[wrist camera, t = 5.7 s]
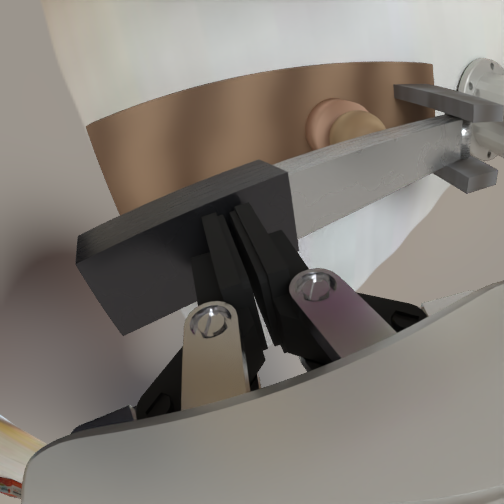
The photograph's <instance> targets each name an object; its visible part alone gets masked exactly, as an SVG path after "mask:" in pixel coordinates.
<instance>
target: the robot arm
mask: <svg viewBox="0 0 504 504" xmlns="http://www.w3.org/2000/svg"><path fill="white" fill-rule="evenodd" d="M458 91H459V92H462V93H466V94H469V95H473V96H476V97H480V98H483V99H486V100H489V101H492V102H495V103H498V104H501V105H503V121H501V122H481V123H472V130H471V147H470V154H471V155H472V156H474V157H476V158H477V159H479V160H483V161H488V160H491V159H493V158H495V157H496V156H497V155H499V156H501V157H503V158H504V69H503V68H502V67H501V66H500V65H499V64H498V63H497V62H495V61H493V60H490V59H486V58H479V59H476V60H474V61H473V62H472V63H470V64H469V66H468V67H467V68H466V70H465V71H464V74H463V76H462V78H461V81H460V84H459V88H458ZM229 214H230V218H231V222H232V226H233V229H234V233H235V237H236V241H237V244H238V248H239V252H240V255H241V258H240V256H239V253H238V251H237V248H236V246H235V243H234V241H233V238H232V236H231V233H230V231H229V228H228V226H227V223H226V221H225V218H224V216H223V214H222V215H219V216H217V214H216V212H215V213H212V214H209V215H205V216H202V217H201V218H202V222H203V226H204V230H205V234H206V238H207V242H208V246H209V250H210V252H208V253H205V254H202V255H199V256H195V257H192V258H191V266H192V272H193V279H194V284H195V290H196V296H197V302H198V307H196V308H195V309H194V310H193V311H192V312H191V313H189V315H188V317H187V318H186V320H185V324H184V336H183V337H184V338H183V347H182V348H181V349H180V350H179V351H178V353H177V354H176V355H175V356H174V358H173V359H172V360H171V361H170V362H169V364H168V365H167V366H166V367H165V369H164V370H163V371H162V372H161V373H160V375H159V376H158V377H157V378H156V379H155V381H154V382H153V383H152V384H151V386H150V387H149V388H148V389H147V390H146V392H145V393H144V394H143V395H142V397H141V398H140V400H139V402H138V404H137V405H136V406H134V407H131V406H130V405H127V406H125V407H122V408H120V409H118V410H115V411H113V412H111V413H108V414H106V415H104V416H101V417H99V418H96V419H94V420H92V421H89V422H86V423H84V424H81V425H79V426H78V427H76V428H75V429H74V430H73V431H72V432H71V434H70V435H67V436H65V437H62V438H59V439H57V440H55V441H53V442H51V443H49V444H48V445H46V446H44V447H43V448H41V449H40V450H39V451H37V452H36V453H35V454H34V455H33V456H32V457H31V458H30V460H29V461H28V463H27V465H26V468H25V471H24V476H23V482H22V492H21V504H504V281H501V282H497V283H494V284H491V285H489V286H486V287H484V288H481V289H479V290H477V291H474V290H472V291H466V292H462V293H459V294H455V295H451V296H447V297H444V298H440V299H436V300H432V301H428V302H424V303H422V305H421V307H417V306H415V305H412V304H409V303H404V302H399V301H394V300H390V299H385V298H380V297H376V296H371V295H366V294H361V293H356V292H355V291H354V290H353V289H352V288H351V287H350V286H349V285H348V284H347V283H346V282H344V281H343V280H342V279H341V278H340V277H339V276H338V275H337V274H335V273H334V272H332V271H330V270H327V269H320V268H315V269H308V267H307V266H306V264H305V263H304V261H303V260H302V258H301V257H300V255H299V254H298V252H297V251H296V250H295V248H294V247H293V245H292V244H291V242H290V241H289V239H288V238H287V236H286V235H285V234H284V232H283V231H282V230H278V231H275V232H272V233H269V234H268V233H267V231H266V229H265V228H264V226H263V224H262V223H261V221H260V220H259V218H258V216H257V215H256V213H255V211H254V210H253V208H252V206H251V205H250V203H249V202H248V203H245V204H241V205H238V206H235V207H234V211H232V212H229ZM241 259H242V261H241ZM253 294H254V295H253ZM254 297H255V299H256V302H257V304H258V307H259V309H260V312H261V314H262V317H263V319H264V322H265V324H266V327H267V329H268V332H269V334H270V337H271V339H272V341H273V344H274V346H277V345H281V347H282V349H283V352H284V353H287V352H288V353H291V354H294V355H297V356H299V359H300V361H301V363H302V365H303V366H304V368H305V369H306V371H307V372H306V373H304V374H301V375H298V376H296V377H293V378H290V379H287V380H284V381H282V382H279V383H276V384H273V385H270V386H267V387H264V388H261V384H260V378H259V375H258V371H259V369H260V368H261V366H262V365H263V363H264V362H265V357H264V354H263V350H266V349H268V347H267V343H266V340H265V336H264V332H263V329H262V325H261V321H260V318H259V314H258V310H257V306H256V303H255V299H254Z"/></svg>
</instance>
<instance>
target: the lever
mask: <svg viewBox="0 0 504 504" xmlns="http://www.w3.org/2000/svg"><path fill="white" fill-rule="evenodd" d="M471 130H472V122H470V121H467V120H464V119H461V118H459V117H456V116H453V115H450V114H447V113H445V115H441V116H437V117H433V118H428V119H424V120H420V121H416V122H412V123H408V124H404V125H400V126H396V127H392V128H389V129H385V130H381V131H378V132H374V133H370V134H367V135H363V136H360V137H356V138H353V139H350V140H346V141H343V142H340V143H337V144H333V145H330V146H327V147H324V148H321V149H317V150H314V151H311V152H308V153H305V154H302V155H299V156H296V157H293V158H290V159H287V160H284V161H282V162H279V163H276V164H273V165H271V164H269V163H267V162H264V161H262V160H260V159H258V160H256V161H253V162H250V163H247V164H244V165H241V166H239V167H236V168H233V169H231V170H228V171H225V172H222V173H220V174H217V175H215V176H212V177H209V178H207V179H204V180H202V181H199V182H197V183H194V184H192V185H189V186H187V187H184V188H182V189H179V190H177V191H175V192H172V193H170V194H167V195H165V196H163V197H160V198H158V199H156V200H153V201H151V202H149V203H147V204H144V205H142V206H140V207H138V208H135V209H133V210H131V211H129V212H127V213H124V214H122V215H120V216H118V217H116V218H114V219H112V220H110V221H107V222H106V223H103V224H101V225H99V226H97V227H95V228H93V229H91V230H89V231H87V232H85V233H83V234H81V235H79V236H78V241H77V251H76V266H77V268H78V269H79V271H80V273H81V274H82V276H83V277H84V279H85V280H86V282H87V284H88V285H89V287H90V289H91V290H92V292H93V293H94V295H95V296H96V298H97V300H98V301H99V303H100V304H101V306H102V307H103V309H104V310H105V311H106V313H107V314H108V316H109V317H110V319H111V320H112V321H113V323H114V324H115V326H116V327H117V328H118V330H119V331H120V333H121V334H122V335H123V336H124V335H126V334H128V333H131V332H133V331H135V330H137V329H139V328H141V327H143V326H145V325H148V324H150V323H152V322H154V321H156V320H158V319H160V318H162V317H165V316H167V315H169V314H171V313H173V312H175V311H177V310H179V309H181V308H183V307H186V306H188V305H190V304H192V303H194V302H196V301H197V296H196V290H195V284H194V279H193V272H192V266H191V258H192V257H195V256H199V255H202V254H205V253H208V252H210V250H209V246H208V242H207V238H206V234H205V230H204V226H203V222H202V218H201V217H202V216H205V215H209V214H212V213H215V212H216V214H217V216H219V215H222V214H223V216H224V218H225V221H226V223H227V226H228V228H229V231H230V233H231V236H232V238H233V241H234V243H235V246H236V248H237V251H238V253H239V256H240V258H241V255H240V252H239V248H238V244H237V241H236V237H235V233H234V229H233V226H232V222H231V218H230V214H229V212H232V211H234V207H235V206H238V205H241V204H245V203H248V202H249V203H250V205H251V206H252V208H253V210H254V211H255V213H256V215H257V216H258V218H259V220H260V221H261V223H262V224H263V226H264V228H265V229H266V231H267V233H268V234H269V233H272V232H275V231H278V230H282V231H283V232H284V234H285V235H286V236H287V238H288V239H289V241H290V242H291V244H292V245H293V247H294V248H295V250H296V251H299V248H298V239H300V238H302V237H304V236H306V235H308V234H310V233H312V232H314V231H316V230H318V229H320V228H322V227H324V226H326V225H328V224H330V223H332V222H334V221H336V220H338V219H341V218H343V217H345V216H347V215H349V214H351V213H353V212H355V211H357V210H359V209H361V208H363V207H365V206H367V205H369V204H371V203H373V202H375V201H377V200H379V199H381V198H383V197H385V196H387V195H389V194H391V193H393V192H395V191H397V190H399V189H401V188H403V187H405V186H407V185H409V184H411V183H413V182H415V181H417V180H419V179H421V178H423V177H425V176H427V175H429V174H431V173H433V172H435V171H437V170H439V169H441V168H443V167H445V166H447V165H449V164H451V163H453V162H455V161H457V160H459V159H467V158H469V157H470V147H471ZM241 261H242V259H241Z"/></svg>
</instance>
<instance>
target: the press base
mask: <svg viewBox="0 0 504 504" xmlns="http://www.w3.org/2000/svg"><path fill="white" fill-rule="evenodd" d="M435 110H438V111H441V112H444V113H447V114H450V115H453V116H456V117H459V118H461V119H464V120H467V121H470V122H472V123H481V122H501V121H503V105H501V104H498V103H495V102H492V101H489V100H486V99H483V98H480V97H476V96H473V95H469V94H466V93H462V92H459V91H455V90H451V89H447V88H443V87H439V86H434V78H433V65H432V64H427V63H417V62H349V63H333V64H320V65H310V66H301V67H293V68H286V69H279V70H272V71H266V72H260V73H255V74H249V75H244V76H239V77H235V78H230V79H225V80H221V81H217V82H213V83H208V84H204V85H201V86H197V87H193V88H189V89H186V90H182V91H179V92H175V93H172V94H169V95H166V96H162V97H159V98H156V99H153V100H150V101H147V102H144V103H141V104H139V105H136V106H133V107H130V108H128V109H125V110H122V111H120V112H117V113H115V114H112V115H110V116H107V117H105V118H102V119H100V120H98V121H95V122H93V123H91V124H89V125H88V126H86V129H87V132H88V135H89V137H90V140H91V143H92V146H93V149H94V151H95V154H96V157H97V160H98V162H99V165H100V167H101V170H102V173H103V175H104V178H105V180H106V183H107V185H108V188H109V190H110V193H111V195H112V197H113V200H114V202H115V204H116V207H117V209H118V211H119V214H120V215H122V214H124V213H127V212H129V211H131V210H133V209H135V208H138V207H140V206H142V205H144V204H147V203H149V202H151V201H153V200H156V199H158V198H160V197H163V196H165V195H167V194H170V193H172V192H175V191H177V190H179V189H182V188H184V187H187V186H189V185H192V184H194V183H197V182H199V181H202V180H204V179H207V178H209V177H212V176H215V175H217V174H220V173H222V172H225V171H228V170H231V169H233V168H236V167H239V166H241V165H244V164H247V163H250V162H253V161H256V160H258V159H260V160H262V161H264V162H267V163H269V164H271V165H273V164H276V163H279V162H282V161H284V160H287V159H290V158H293V157H296V156H299V155H302V154H305V153H308V152H311V151H314V150H317V149H321V148H324V147H327V146H330V145H333V144H337V143H340V142H343V141H346V140H350V139H353V138H356V137H360V136H363V135H367V134H370V133H374V132H378V131H381V130H385V129H389V128H392V127H396V126H400V125H404V124H408V123H412V122H416V121H420V120H424V119H428V118H433V117H435ZM433 174H435V175H437V176H438V177H440V178H442V179H443V180H445V181H447V182H448V183H450V184H452V185H454V186H455V187H457V188H458V189H460V190H461V191H463V192H465V193H466V194H468V193H471V192H474V191H477V190H480V189H483V188H486V187H489V186H493V185H496V180H497V174H498V170H497V169H495V168H493V167H492V166H490V165H488V164H486V163H484V162H482V161H480V160H478V159H477V158H475V157H473V156H471V155H470V157H469V158H467V159H459V160H457V161H455V162H453V163H451V164H449V165H447V166H445V167H443V168H441V169H439V170H437V171H435V172H433Z"/></svg>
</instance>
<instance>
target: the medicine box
mask: <svg viewBox="0 0 504 504" xmlns="http://www.w3.org/2000/svg"><path fill="white" fill-rule="evenodd" d="M0 492H1V493H3V494H5V495H8V496H10V497H14V498H19V499H21V492H22V484H21V483H19V482H16V481H14V480H12V479H7V478H2V477H0Z"/></svg>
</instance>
